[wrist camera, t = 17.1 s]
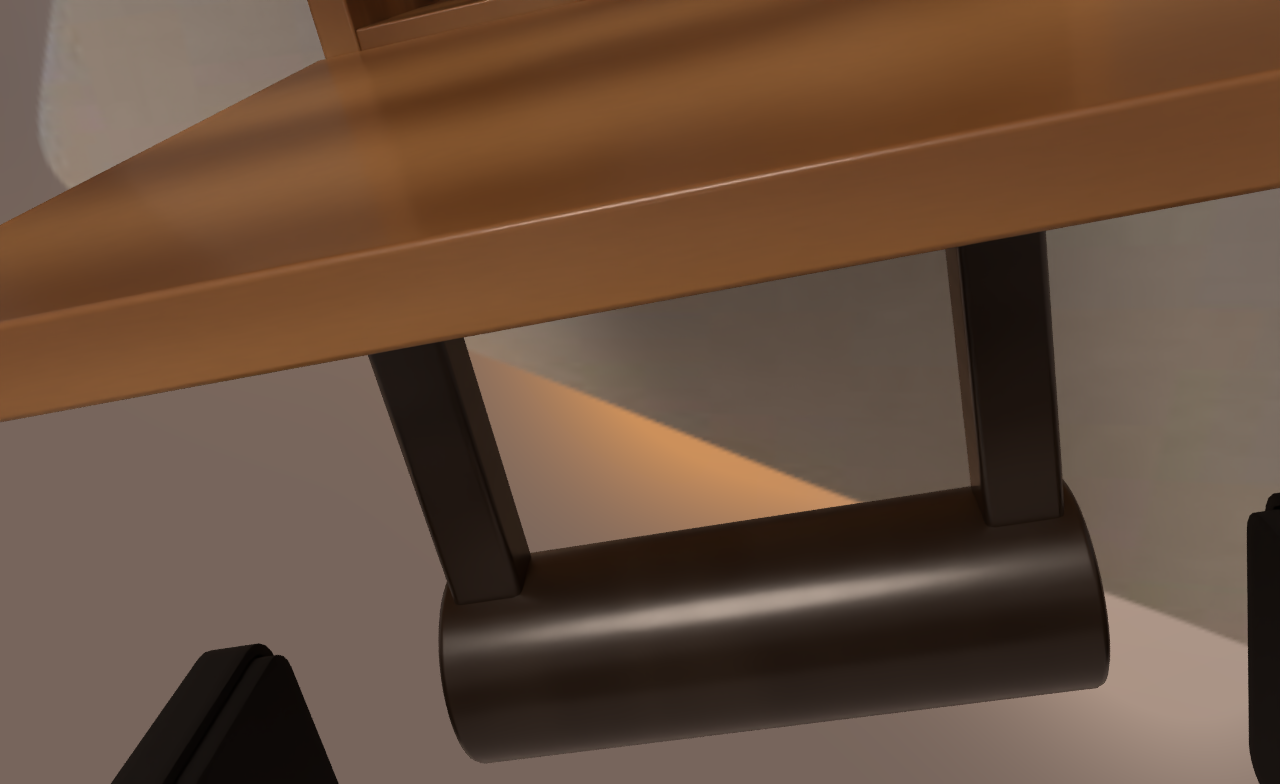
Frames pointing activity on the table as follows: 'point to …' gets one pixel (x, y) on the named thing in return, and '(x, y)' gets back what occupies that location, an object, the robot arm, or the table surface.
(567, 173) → the chest lid
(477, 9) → the chest
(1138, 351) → the table surface
